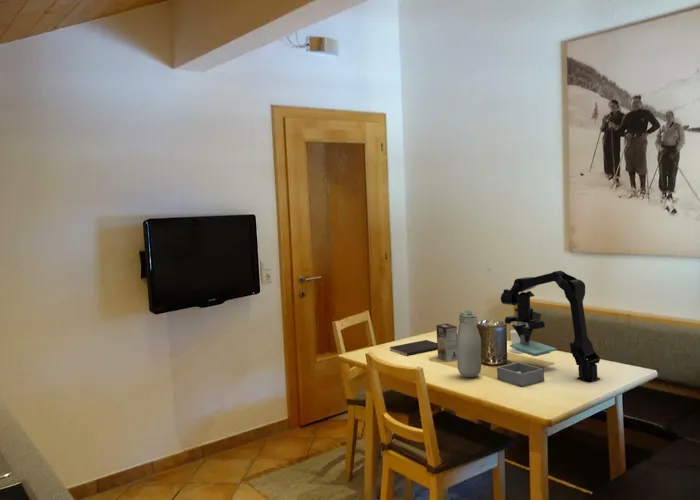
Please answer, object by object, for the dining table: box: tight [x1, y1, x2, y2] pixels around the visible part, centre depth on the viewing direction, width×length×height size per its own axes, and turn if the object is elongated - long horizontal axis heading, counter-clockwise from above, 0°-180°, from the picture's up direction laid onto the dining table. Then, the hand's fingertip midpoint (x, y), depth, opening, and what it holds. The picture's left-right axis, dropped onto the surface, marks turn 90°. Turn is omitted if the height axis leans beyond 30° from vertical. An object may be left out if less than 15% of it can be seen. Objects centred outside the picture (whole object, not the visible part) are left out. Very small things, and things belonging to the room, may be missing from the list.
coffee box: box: [436, 323, 458, 363], centre depth 286 cm, size 9×6×16 cm
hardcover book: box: [389, 339, 438, 357], centre depth 309 cm, size 16×23×2 cm
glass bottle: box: [456, 310, 482, 378], centre depth 255 cm, size 10×10×28 cm
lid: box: [509, 334, 557, 357], centre depth 262 cm, size 15×13×6 cm
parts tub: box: [496, 361, 545, 388], centre depth 247 cm, size 14×12×5 cm
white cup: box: [509, 329, 524, 354], centre depth 292 cm, size 8×8×10 cm
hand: (525, 341), depth 266 cm, fingers closed on lid, 2 cm apart
